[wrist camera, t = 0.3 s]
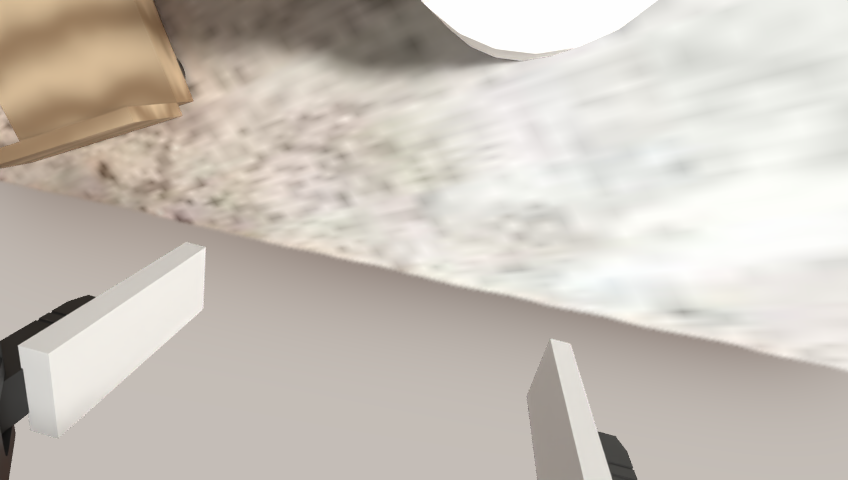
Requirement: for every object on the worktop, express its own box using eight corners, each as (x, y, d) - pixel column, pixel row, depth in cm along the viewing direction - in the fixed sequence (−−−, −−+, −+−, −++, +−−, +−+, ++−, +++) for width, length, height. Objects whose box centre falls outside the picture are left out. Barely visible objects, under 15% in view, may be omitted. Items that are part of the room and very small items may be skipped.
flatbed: (202, 113, 44) (133, 122, 36) (57, 157, 48) (-35, 175, 40) (121, -88, 39) (20, -132, 31) (-33, -20, 43) (-160, -43, 35)
